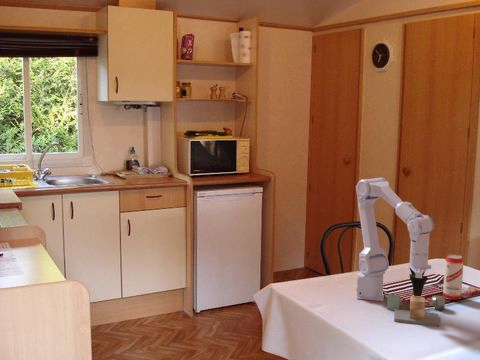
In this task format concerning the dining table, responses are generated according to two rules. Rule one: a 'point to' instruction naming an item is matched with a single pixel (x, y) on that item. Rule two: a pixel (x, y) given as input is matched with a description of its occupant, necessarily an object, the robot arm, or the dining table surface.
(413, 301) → the oak block
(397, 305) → the olive green cube
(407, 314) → the slate board
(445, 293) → the beer can
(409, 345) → the dining table surface
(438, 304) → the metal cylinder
